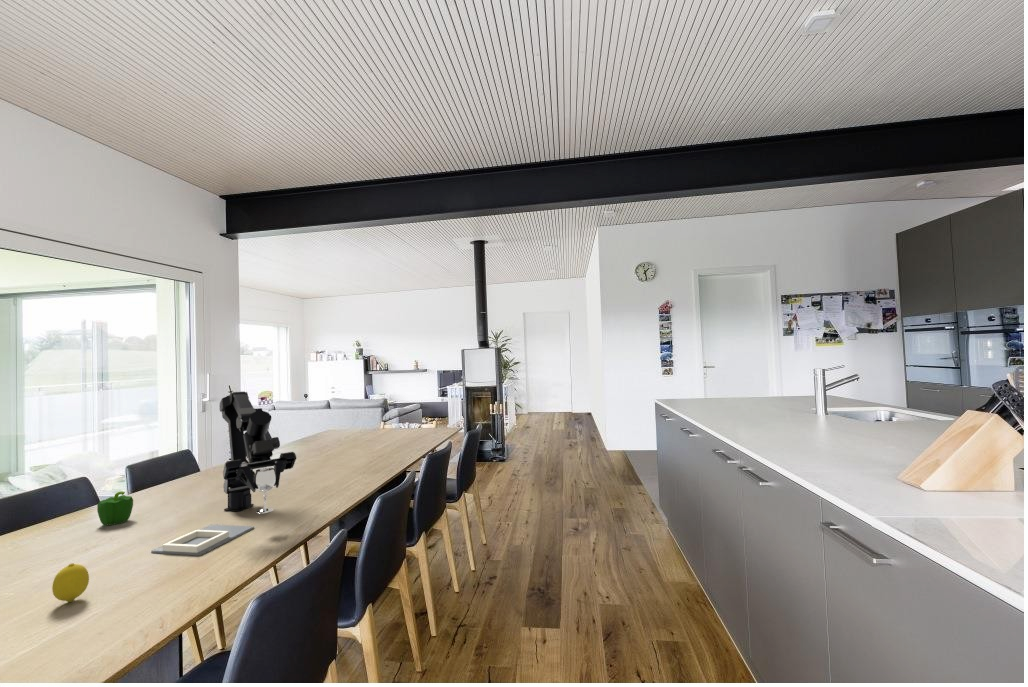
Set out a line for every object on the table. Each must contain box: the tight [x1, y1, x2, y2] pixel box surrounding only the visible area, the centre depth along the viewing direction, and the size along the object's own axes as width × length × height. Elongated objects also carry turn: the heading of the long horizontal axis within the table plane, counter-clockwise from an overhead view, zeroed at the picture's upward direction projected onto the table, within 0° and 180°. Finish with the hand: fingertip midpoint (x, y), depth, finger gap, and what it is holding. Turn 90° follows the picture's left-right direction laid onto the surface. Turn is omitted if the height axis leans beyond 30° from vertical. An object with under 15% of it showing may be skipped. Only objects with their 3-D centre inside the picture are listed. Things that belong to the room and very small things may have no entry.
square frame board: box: [151, 524, 255, 557], centre depth 127 cm, size 15×19×2 cm
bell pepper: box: [96, 490, 134, 526], centre depth 143 cm, size 8×8×10 cm
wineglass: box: [254, 467, 276, 514], centre depth 131 cm, size 6×6×12 cm
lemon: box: [51, 562, 90, 603], centre depth 95 cm, size 6×6×8 cm
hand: (266, 489), depth 130 cm, fingers closed on wineglass, 6 cm apart
